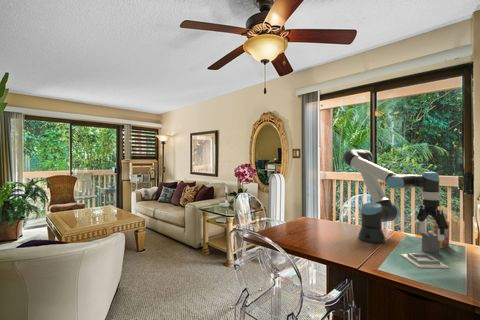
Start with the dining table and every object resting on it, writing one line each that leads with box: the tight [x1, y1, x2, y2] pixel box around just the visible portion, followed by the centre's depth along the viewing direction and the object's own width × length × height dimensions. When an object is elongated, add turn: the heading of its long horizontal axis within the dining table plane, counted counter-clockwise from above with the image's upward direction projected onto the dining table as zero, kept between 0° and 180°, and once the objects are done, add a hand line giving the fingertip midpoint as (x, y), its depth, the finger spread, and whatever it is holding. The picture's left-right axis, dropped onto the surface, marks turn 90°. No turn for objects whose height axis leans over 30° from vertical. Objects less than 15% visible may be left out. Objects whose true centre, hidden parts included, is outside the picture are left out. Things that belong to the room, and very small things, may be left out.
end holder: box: [400, 252, 450, 269], centre depth 119 cm, size 14×14×2 cm
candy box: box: [433, 220, 451, 249], centre depth 138 cm, size 9×4×15 cm, turn 115°
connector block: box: [421, 230, 441, 254], centre depth 131 cm, size 5×6×12 cm
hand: (431, 236), depth 131 cm, fingers open, 13 cm apart
